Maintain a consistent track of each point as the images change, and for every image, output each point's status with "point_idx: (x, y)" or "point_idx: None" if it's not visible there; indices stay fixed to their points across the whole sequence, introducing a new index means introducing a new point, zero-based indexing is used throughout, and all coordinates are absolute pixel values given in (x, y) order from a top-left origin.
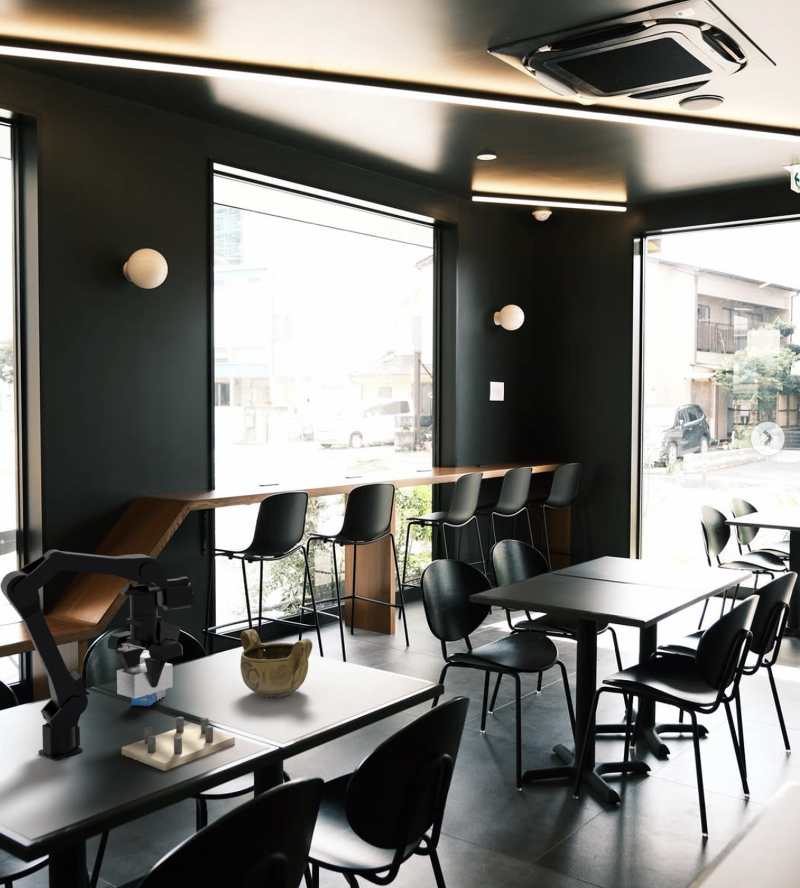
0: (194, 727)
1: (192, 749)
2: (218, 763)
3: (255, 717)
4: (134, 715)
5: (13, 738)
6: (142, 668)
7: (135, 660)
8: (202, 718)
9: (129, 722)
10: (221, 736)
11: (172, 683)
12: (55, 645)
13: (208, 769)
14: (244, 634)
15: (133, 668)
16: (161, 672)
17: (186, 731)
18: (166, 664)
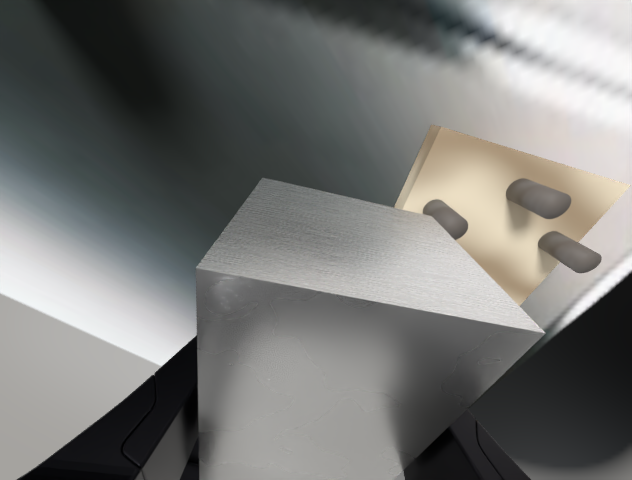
0: (466, 160)
1: (515, 291)
2: (574, 287)
3: None
4: (137, 69)
5: (78, 321)
6: (317, 454)
7: (160, 472)
8: (545, 205)
9: (190, 144)
10: (582, 197)
11: (440, 228)
12: None
13: (557, 312)
14: None
15: (256, 465)
16: (472, 417)
17: (453, 200)
18: (468, 352)
